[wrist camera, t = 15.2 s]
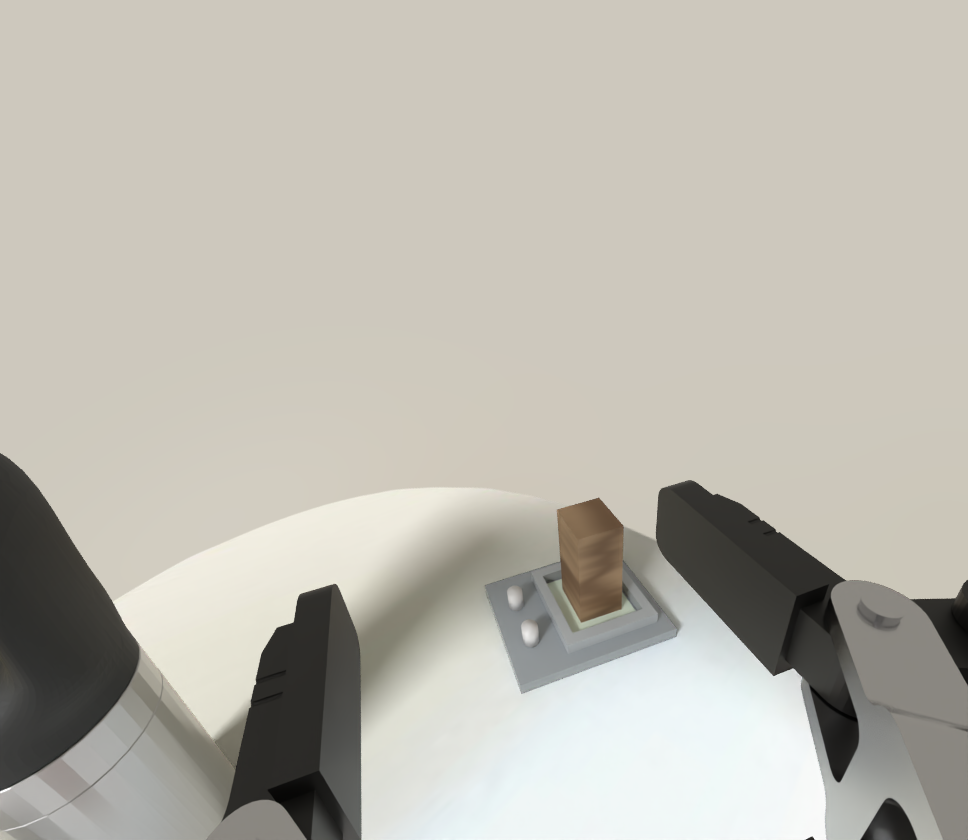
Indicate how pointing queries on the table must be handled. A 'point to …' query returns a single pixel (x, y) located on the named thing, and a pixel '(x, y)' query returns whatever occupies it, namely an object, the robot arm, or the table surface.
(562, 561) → the block
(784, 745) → the table surface
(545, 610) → the housing
